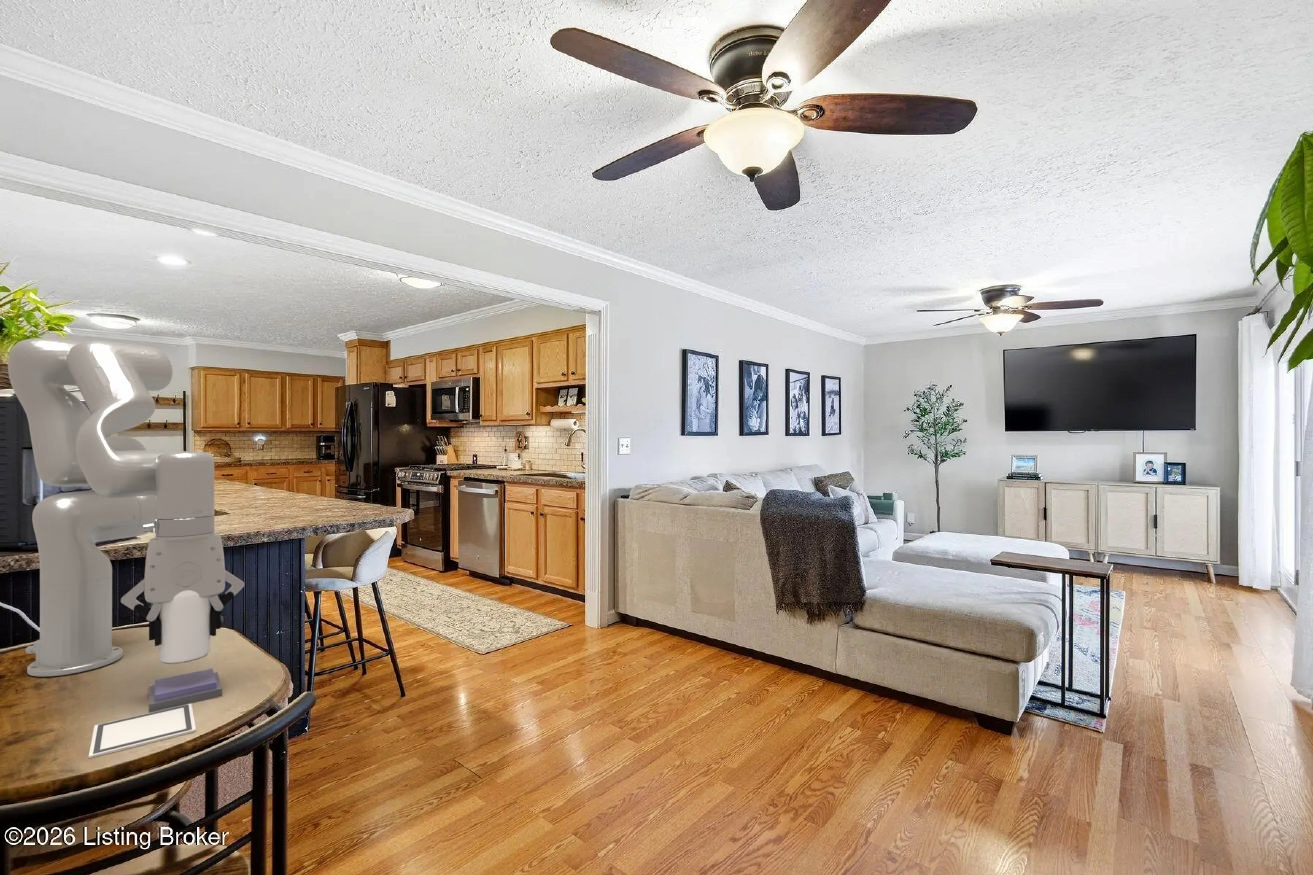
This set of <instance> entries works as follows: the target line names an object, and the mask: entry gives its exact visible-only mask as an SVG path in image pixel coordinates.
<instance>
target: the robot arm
mask: <svg viewBox="0 0 1313 875" xmlns="http://www.w3.org/2000/svg"><path fill="white" fill-rule="evenodd" d="M7 372H8V378H9V382H10V384H11V387H12V389H13V392H14V394H15V395H16V398H17V399H18V401H19V403H20V404H21V406H22V409H23V411H24V412H25V414H26V418H27V421H28V428H29V435H30V441H31V446H32V452H33V459H34V464H35V469H36V472H37V476H38V477H39V479H40V480H41V482H42V483H43V484H46V485H48V486H52V487H84V486H85V487H88V486H89V487H90V488H91V489H92V490H84V491H83V490H82V491H69V492H62V493H56V494H53V495H50V496H46V498H43V499H42V500H40V501H39V502H38V503H37V504H36V505H35V506H34V508H33V510H32V514H31V515H32V516H31V517H32V519H31V521H32V527H33V531H34V534H35V540H36V543H37V550H38V556H39V557H38V558H39V560H38V561H39V639H37V640H35V642H34V643H33V644H32V645H28V646H27V647H26V648H25V651H24V652H25V654H27V655H28V654H32V655H34V654H35V660H34V661H33V662H31V663H30V664H29V665H27V669H26V670H27V671H26V672H27V675H29V676H32V677H38V678H39V677H43V678H45V677H57V676H65V675H73V674H77V673H81V672H87V671H91V670H94V669H98V668H102V667H105V666H107V665H109V664H112V663H115V662H117V661H119V660H120V659H121V658H122V657H123V655H124V652H123V651H124V650H123V648H121V647H118V646H113V566H112V563H111V561H110V559H109V557H108V556H107V555H106V554H105V553H104V552H103V551H102V550H100V548H98V546H96V543H98V542H104V541H111V540H119V539H126V538H128V539H129V538H133V537H140V536H144V535H147V534H149V533H151V534H152V533H153V534H154V535H155V537H153V538H150V539H149V542H148V544H147V549H146V554H145V555H146V556H145V566H144V578H142V580H141V581H140V582H138V583H137V584H136V585H134V586H133V587H132V588H131V589H130V590H129V591H128V592H127V593H125V594H124V595H123V596H121V598H120V603H121V604H123V605H124V606H126V607H127V608H129V609H130V610H132V611H133V612H135V613H136V614H138V615H139V616H141V617H143V618H144V619H146V621H147V622H148V641H153V640H154V647H157V646H159V647H160V644H161V620H160V610H161V608H162V604H163V603H169V602H171V601H173V598H174V597H175V596H176V595H177V594H179V593H180V592H182V591H186V590H191V591H194V592H196V593H198V594H199V597H202V598H206V597H209V601H210V635H211V637H216V636H217V630H219V629H221V628H222V610H223V609H224V607H225V606H226V605H228V603H229V602H230V601H231V600H233V598H234V597H235V596H236V595H237V594H238V593H239V592H240V591H241V590H242V589H243V588H244V587H245V584H246V583H245V582H244V580H241V579H240V578H239V577H236V576H235V575H234V574H232V573H231V572H230V571H227V570H226V568H225V567H226V566H225V555H224V554H225V553H224V545H223V541H222V536H221V534H220V533H218V532H215V459H214V456H212V455H211V454H210V453H209V452H206V451H205V452H204V451H185V450H176V449H175V450H173V449H171V450H170V449H169V450H167V449H165V450H163V449H161V450H159V449H157V450H156V449H155V450H154V449H153V450H147V449H146V447H145V446H144V444H143V443H141V441H139V440H138V439H136V438H134V437H131V436H124V435H116V434H118V433H122V432H125V431H127V430H131V429H133V428H136V427H138V426H141V425H142V424H144V423H145V422H148V420H149V419H151V418H152V416H153V415H154V413H155V411H156V403H155V400H154V397H153V396H152V395H151V393H150V392H157V391H161V390H164V389H166V388H167V387H168V386H169V384H171V381H172V378H173V365H172V362H171V361H170V359H169V356H168V355H167V354H165V353H164V352H163V351H162V350H160V349H159V348H156V347H154V346H150V345H149V346H148V345H143V344H142V345H141V344H133V343H126V342H119V341H110V340H100V339H99V340H87V341H80V340H72V339H62V338H52V337H51V338H49V337H35V338H28V339H23V340H21V341H18V342H17V343H15V344H14V345H13V347H12V348H11V350H10V352H9V354H8V360H7ZM65 386H73V387H77V388H78V390H79V392H80V394H81V397H82V398H83V400H84V401H85V403H83V402H82V401H81V400H80V399H79V398H78V397H77V396H76V395H74V393H72V392H71V391H70V390H67V389H66V388H65ZM226 582H227V583H228V584H230V585H231V586H230V587H229V589H228V590H226V591H225V588H226ZM183 586H186V587H187V586H189V587H187V588H186V587H183ZM223 592H224V593H223ZM142 593H144V599H145V601H146V602H147V603H148V604H150V606H147V605H145V604H144V603H142V602H140V601H139V600H137V597H138V596H139V595H141V594H142ZM222 593H223V594H222ZM221 594H222V595H221ZM219 595H221V596H220V597H219Z"/></svg>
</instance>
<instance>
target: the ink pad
mask: <svg viewBox="0 0 1313 875" xmlns="http://www.w3.org/2000/svg"><path fill="white" fill-rule="evenodd" d="M220 679H221V678H220V676H219V673H218V671H216V672H214V669H213V668H208V669H203V670H197V671H193V672H188V673H184V674H179V675H174V676H168V677H162V678H158V679H154V684H152V685H148V713H151V712H156V711H160V710H164V709H169V708H173V707H178V706H182V705H187V704H191V703H192V704H193V703H198V702H203V701H206V700H210V699H216V698H220V697H223V687H222V684H221V680H220ZM197 701H198V702H197Z"/></svg>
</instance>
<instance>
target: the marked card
mask: <svg viewBox="0 0 1313 875" xmlns="http://www.w3.org/2000/svg"><path fill="white" fill-rule="evenodd" d="M92 731H93V732H92V735H91V736H92V737H91V741H90V748H89V752H88V759H93V758H97V757H101V756H104V755H108V754H111V753H112V754H113V753H116V752H120V751H125V750H129V749H132V748H136V747H141V746H144V745H149V744H152V743H157V742H160V741H164V740H168V739H172V738H176V737H181V736H185V735H188V734H191V733H196V732H197V731H196V723H195V717H194V711H193V703H189V704H185V705H180V706H176V707H172V708H167V709H163V710H158V711H154V712H147V713H143V714H139V715H133V716H129V717H125V718H120V719H117V720H112V721H108V722H103V723H98V724H94V727H93V730H92Z"/></svg>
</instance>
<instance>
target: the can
mask: <svg viewBox="0 0 1313 875" xmlns="http://www.w3.org/2000/svg"><path fill="white" fill-rule="evenodd" d="M183 587H186V586H183ZM187 587H189V586H187ZM187 587H186V588H187ZM210 610H211V602H210V601H209V597H206V598H202V597H199V594H198V593H196V592H194V591H191V590H186V591H182V592H180V593H179V594H177V595H176V596H175V597H174V598H173V601H171V602H169V603H163V604H162V608H161V610H160V612H159V617H160V620H161V644H160V645H159V660H160V661H161V662H162V663H163V664H166V665H167V664H168V665H178V664H184V663H189V662H194V661H197V660H200V659H203V658H205V657H207V656H208V655H209V653H210V652H211V637H212V636H211V635H210Z"/></svg>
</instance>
